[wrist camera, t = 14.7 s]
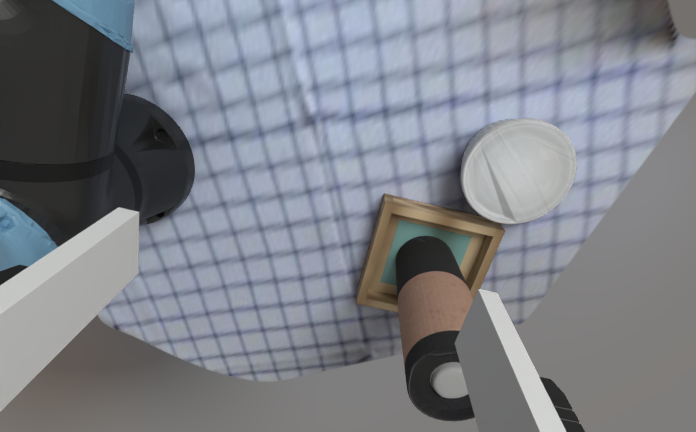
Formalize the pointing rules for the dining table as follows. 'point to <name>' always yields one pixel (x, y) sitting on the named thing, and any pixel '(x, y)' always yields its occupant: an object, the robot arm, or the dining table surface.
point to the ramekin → (517, 170)
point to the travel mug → (432, 327)
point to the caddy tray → (424, 220)
